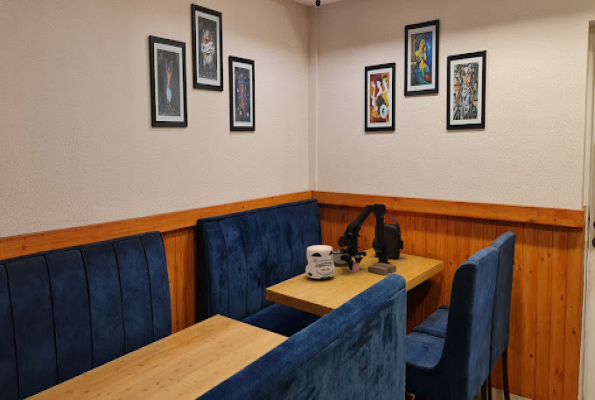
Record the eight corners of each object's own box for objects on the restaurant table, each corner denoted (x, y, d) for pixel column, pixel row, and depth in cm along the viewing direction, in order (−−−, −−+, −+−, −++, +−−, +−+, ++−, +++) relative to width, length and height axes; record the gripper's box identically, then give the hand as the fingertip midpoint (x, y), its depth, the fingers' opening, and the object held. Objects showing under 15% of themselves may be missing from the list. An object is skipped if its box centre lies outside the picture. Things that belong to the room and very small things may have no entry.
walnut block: (380, 268, 293) (380, 262, 293) (395, 272, 284) (395, 265, 284) (368, 272, 285) (367, 266, 285) (383, 276, 276) (383, 269, 276)
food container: (350, 264, 304) (350, 249, 302) (351, 267, 298) (350, 251, 296) (331, 264, 305) (331, 249, 304) (331, 267, 299) (331, 252, 298)
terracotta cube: (353, 269, 292) (353, 261, 291) (359, 270, 288) (359, 263, 288) (348, 271, 289) (347, 263, 288) (354, 272, 285) (354, 264, 284)
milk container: (326, 283, 265) (325, 252, 263) (300, 279, 275) (299, 249, 273) (340, 275, 280) (339, 246, 278) (315, 272, 289) (314, 243, 287)
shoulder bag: (406, 258, 315) (406, 217, 312) (400, 261, 308) (400, 219, 305) (377, 254, 329) (376, 215, 326) (370, 256, 322) (370, 216, 319)
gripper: (353, 240, 298) (353, 264, 300) (333, 245, 286) (333, 270, 288) (366, 242, 290) (367, 267, 292) (347, 248, 278) (347, 273, 280)
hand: (353, 269), depth 288 cm, fingers closed on terracotta cube, 5 cm apart
